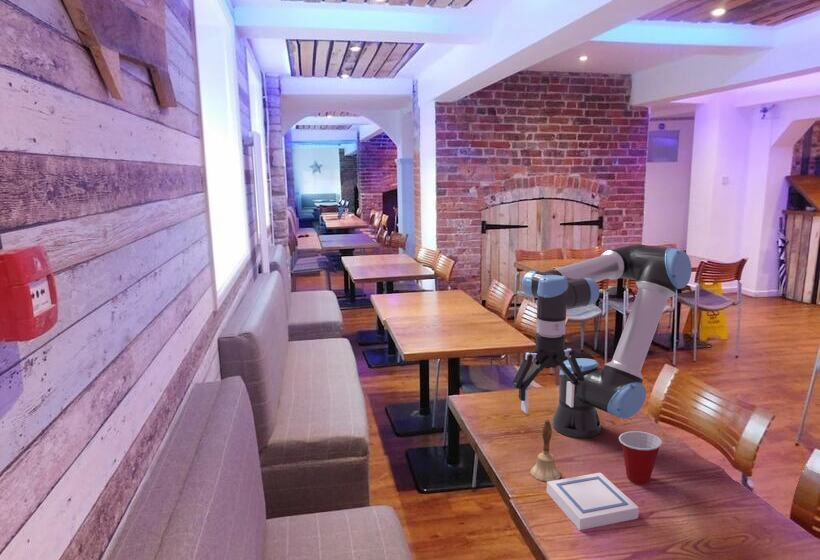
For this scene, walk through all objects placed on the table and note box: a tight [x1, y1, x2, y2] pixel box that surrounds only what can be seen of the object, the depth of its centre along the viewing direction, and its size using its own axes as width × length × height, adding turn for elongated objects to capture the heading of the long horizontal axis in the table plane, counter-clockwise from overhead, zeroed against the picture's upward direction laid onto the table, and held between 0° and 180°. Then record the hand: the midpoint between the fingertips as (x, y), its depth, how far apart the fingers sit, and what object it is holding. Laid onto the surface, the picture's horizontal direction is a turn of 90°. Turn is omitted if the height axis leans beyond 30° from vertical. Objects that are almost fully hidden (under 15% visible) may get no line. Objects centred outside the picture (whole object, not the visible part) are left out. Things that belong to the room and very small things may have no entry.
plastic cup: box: [618, 430, 663, 485], centre depth 146 cm, size 11×11×12 cm
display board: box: [546, 472, 640, 531], centre depth 136 cm, size 16×16×3 cm
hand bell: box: [529, 419, 562, 483], centre depth 149 cm, size 8×8×16 cm
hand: (547, 408), depth 146 cm, fingers open, 13 cm apart
